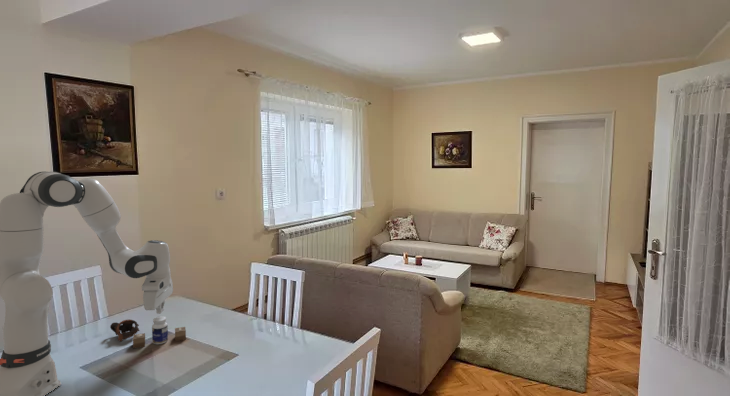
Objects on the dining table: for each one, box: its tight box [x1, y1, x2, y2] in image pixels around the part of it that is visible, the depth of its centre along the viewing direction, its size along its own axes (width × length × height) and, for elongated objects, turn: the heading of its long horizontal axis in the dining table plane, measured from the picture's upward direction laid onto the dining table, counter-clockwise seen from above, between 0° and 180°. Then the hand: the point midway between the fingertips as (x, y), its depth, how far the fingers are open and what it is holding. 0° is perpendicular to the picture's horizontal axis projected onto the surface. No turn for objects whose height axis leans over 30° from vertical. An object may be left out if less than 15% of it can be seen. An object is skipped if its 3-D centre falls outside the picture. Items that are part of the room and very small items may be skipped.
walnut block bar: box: [174, 326, 187, 342], centre depth 168 cm, size 4×4×4 cm
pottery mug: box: [109, 319, 140, 343], centre depth 168 cm, size 12×10×8 cm
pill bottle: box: [151, 315, 169, 345], centre depth 164 cm, size 6×6×10 cm
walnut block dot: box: [132, 332, 146, 349], centre depth 161 cm, size 4×4×4 cm
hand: (160, 312), depth 164 cm, fingers closed
